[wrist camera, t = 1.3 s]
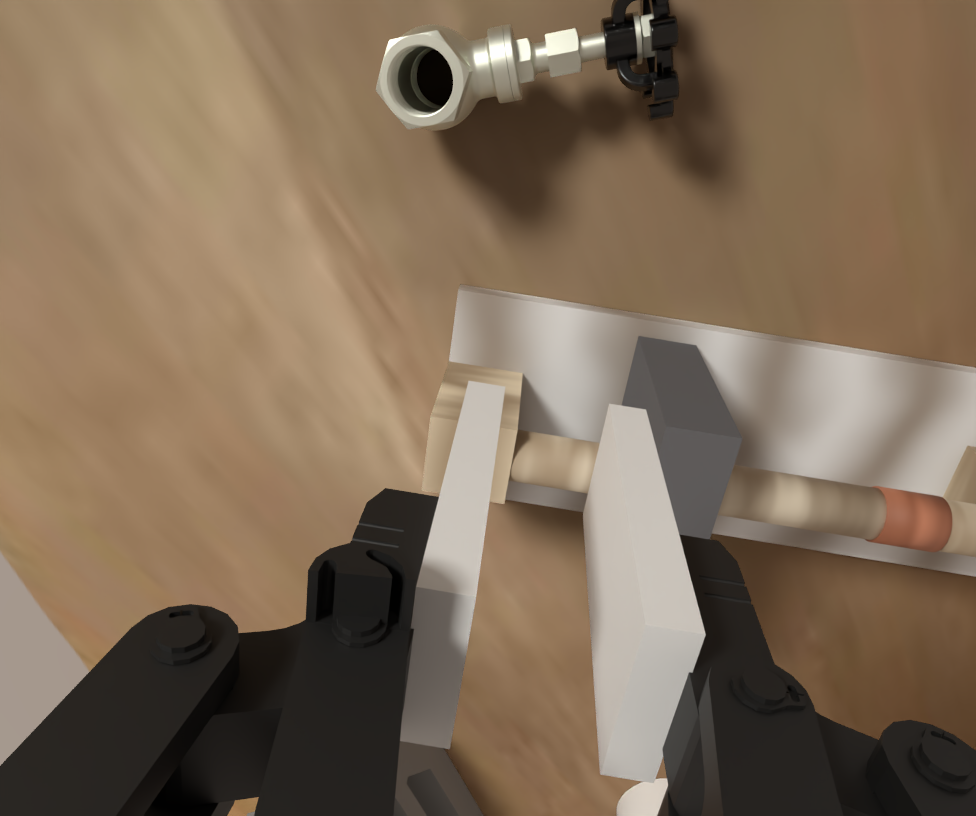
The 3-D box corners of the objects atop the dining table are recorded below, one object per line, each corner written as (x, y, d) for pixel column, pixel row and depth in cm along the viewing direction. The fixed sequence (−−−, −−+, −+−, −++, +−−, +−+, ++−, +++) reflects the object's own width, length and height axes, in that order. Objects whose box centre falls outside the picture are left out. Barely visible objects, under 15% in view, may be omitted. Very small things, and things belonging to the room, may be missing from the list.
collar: (597, 505, 43) (609, 630, 34) (638, 335, 39) (666, 426, 29) (648, 513, 43) (675, 641, 34) (696, 345, 39) (742, 438, 29)
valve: (416, 157, 37) (662, 111, 35) (389, 176, 31) (684, 122, 29) (384, 8, 34) (649, -49, 33) (349, -2, 28) (671, -73, 27)
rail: (435, 478, 45) (413, 558, 38) (460, 284, 40) (440, 334, 32) (969, 566, 44) (1049, 663, 37) (1065, 382, 39) (1179, 454, 32)
